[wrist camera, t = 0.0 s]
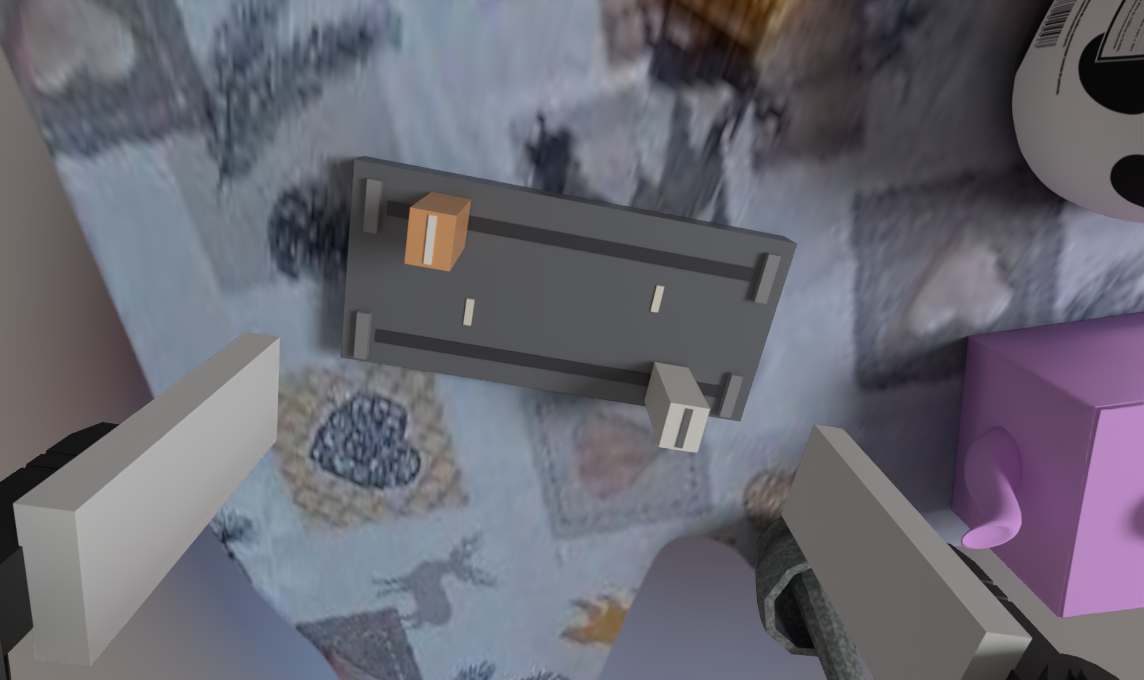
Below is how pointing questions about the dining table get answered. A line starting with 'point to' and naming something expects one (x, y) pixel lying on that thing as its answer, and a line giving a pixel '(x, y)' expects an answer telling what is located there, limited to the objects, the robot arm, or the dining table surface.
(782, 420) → the dining table surface
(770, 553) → the mortar and pestle
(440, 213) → the orange fader
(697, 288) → the console
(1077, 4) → the cow-print canister
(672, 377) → the block
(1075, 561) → the teapot
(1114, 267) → the dining table surface
